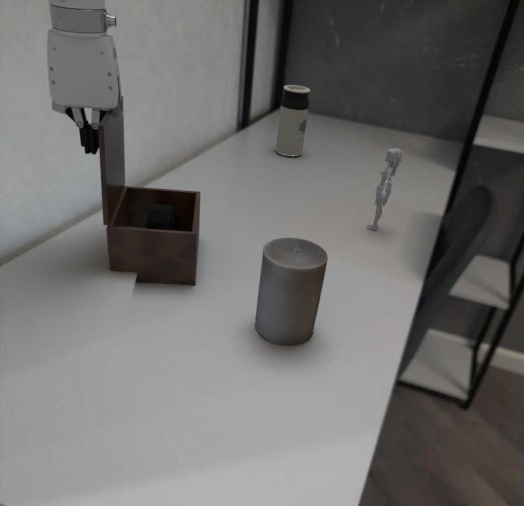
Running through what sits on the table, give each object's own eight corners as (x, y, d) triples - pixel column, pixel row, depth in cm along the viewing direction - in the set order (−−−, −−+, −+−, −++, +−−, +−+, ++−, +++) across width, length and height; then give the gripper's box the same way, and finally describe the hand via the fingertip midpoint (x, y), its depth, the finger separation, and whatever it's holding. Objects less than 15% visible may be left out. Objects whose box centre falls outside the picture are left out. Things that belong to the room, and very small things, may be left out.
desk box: (199, 238, 106) (200, 191, 100) (195, 285, 92) (196, 234, 86) (126, 233, 105) (123, 185, 99) (110, 280, 90) (106, 228, 84)
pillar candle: (317, 318, 88) (333, 236, 78) (308, 352, 80) (325, 265, 71) (261, 306, 89) (271, 224, 80) (247, 338, 81) (256, 251, 72)
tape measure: (155, 235, 104) (154, 196, 99) (176, 238, 104) (177, 199, 99) (135, 271, 92) (133, 229, 87) (160, 274, 92) (159, 232, 87)
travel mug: (270, 151, 157) (277, 85, 146) (288, 147, 161) (296, 83, 150) (288, 159, 152) (297, 92, 141) (307, 155, 157) (317, 90, 146)
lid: (123, 95, 89) (118, 95, 89) (103, 126, 75) (97, 125, 75) (125, 183, 99) (120, 183, 98) (108, 225, 84) (103, 225, 84)
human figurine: (370, 217, 124) (389, 139, 113) (385, 220, 124) (406, 143, 112) (362, 237, 115) (382, 154, 104) (379, 241, 114) (401, 158, 103)
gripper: (135, 23, 78) (140, 148, 90) (32, 12, 77) (50, 141, 88) (128, 30, 72) (135, 163, 84) (16, 18, 71) (38, 155, 82)
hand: (91, 151), depth 86 cm, fingers closed
